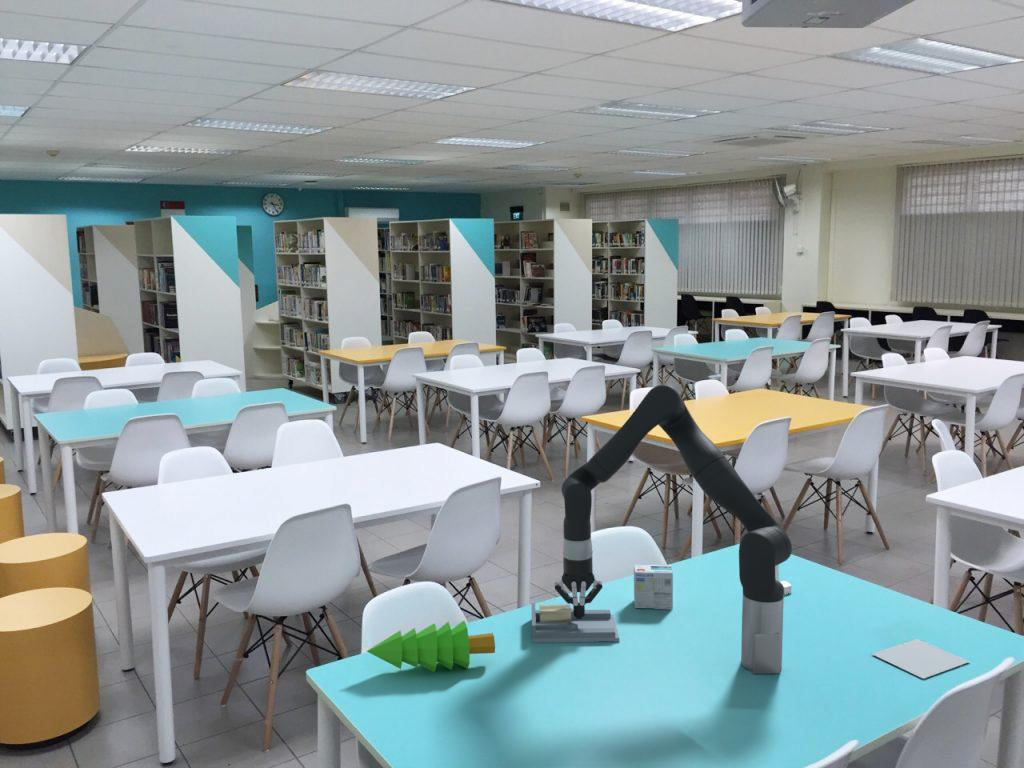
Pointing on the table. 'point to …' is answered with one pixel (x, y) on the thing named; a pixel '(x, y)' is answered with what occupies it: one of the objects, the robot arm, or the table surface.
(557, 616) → the birch block
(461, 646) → the decorative tree
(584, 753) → the table surface
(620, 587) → the table surface
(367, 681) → the table surface
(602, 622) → the slot board
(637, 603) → the light bulb box
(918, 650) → the paper stack
